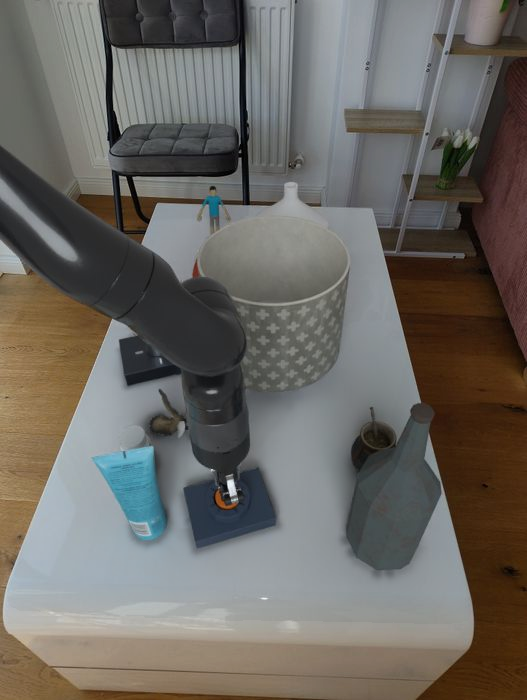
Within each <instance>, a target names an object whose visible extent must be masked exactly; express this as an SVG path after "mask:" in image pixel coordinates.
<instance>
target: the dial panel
mask: <svg viewBox="0 0 527 700" xmlns="http://www.w3.org/2000/svg"><path fill="white" fill-rule="evenodd" d="M118 342H119V351H120V357H121V363H122V369H123V376H124V380H125V383H126V385H127V386H133V385H137V384H141V383H146V382H150V381H155V380H159V379H163V378H168V377H172V376H176V375H181V368H179V367H177V366H176V365H174V364H173V363H171V362H170V361H169V360H167V359H166V358H165V357H163V356H151V355H149V354H148V353H147V351H146V347H145V343H144V341H143V340H142V339H141V338H140V337H139V336H138V335H137V334H136V335H133V336H127V337H124V338H119V339H118Z"/></svg>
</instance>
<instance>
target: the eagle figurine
mask: <svg viewBox="0 0 527 700" xmlns="http://www.w3.org/2000/svg"><path fill="white" fill-rule="evenodd" d="M158 393H159V395H160V396H161V401H162V405H163V406H164V408H165V410H166V411H167V412H168V413H169V415H171V417H168V416H164V415H163V414H161V413H158V414H157V415H154V416H153V417H151V419H150V420H149V423H148V425H149V431H150V432H151V433H152V434H154V435H158V434H159V435H162V436H163V437H171V436H172V435H173V434H174V433H175V432H176V431H177V438H178V439H180V438H182V437H183V435H184V433H185V431H188V426H187V425H186V424H187V421H186V417H185V416H184V415H182V414H181V413H180V412H179V411H178V409H176V408H175V407H173V406H172V405H171V402H170V401H169V399H168V396H167V394H166V393H165V392H164V391H163V390H162V389H161V388H158Z"/></svg>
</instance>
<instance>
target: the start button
mask: <svg viewBox="0 0 527 700" xmlns="http://www.w3.org/2000/svg"><path fill="white" fill-rule="evenodd" d="M215 499H216V505H217V506H218V507H219V508H220V509H224V510H230V509H234V508H235V507H236V506H238V505H239V504H240V502H239V503H236V504H232V505H229V506H226V505H225V504H224V502H223V501H222V500H221V496H220V493H219V490H218V491H217V492H216V495H215Z"/></svg>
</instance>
